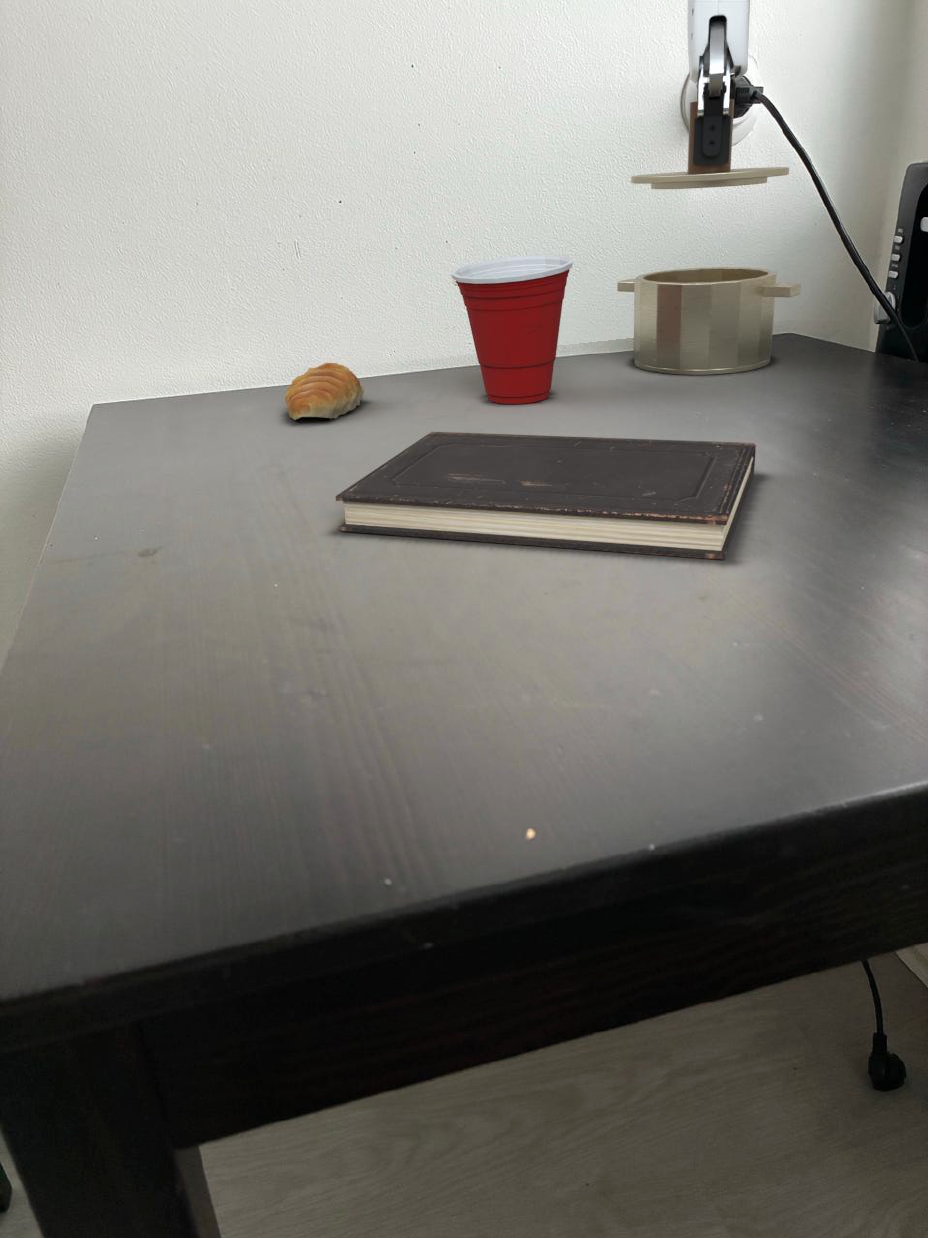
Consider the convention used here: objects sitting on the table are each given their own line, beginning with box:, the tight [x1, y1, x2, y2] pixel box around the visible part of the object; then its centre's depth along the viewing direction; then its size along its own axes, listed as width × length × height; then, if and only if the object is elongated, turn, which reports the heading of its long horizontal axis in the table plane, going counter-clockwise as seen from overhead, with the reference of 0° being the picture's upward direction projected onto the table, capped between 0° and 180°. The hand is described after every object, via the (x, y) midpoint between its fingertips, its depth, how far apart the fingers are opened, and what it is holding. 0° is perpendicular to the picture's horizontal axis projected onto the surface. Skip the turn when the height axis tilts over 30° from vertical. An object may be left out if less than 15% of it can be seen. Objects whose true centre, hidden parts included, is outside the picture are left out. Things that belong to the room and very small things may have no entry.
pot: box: [616, 266, 802, 376], centre depth 101 cm, size 14×19×8 cm
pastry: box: [284, 362, 365, 421], centre depth 90 cm, size 9×7×4 cm
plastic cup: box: [450, 254, 574, 405], centre depth 90 cm, size 11×11×12 cm
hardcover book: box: [335, 431, 757, 561], centre depth 63 cm, size 16×23×2 cm
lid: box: [630, 98, 790, 190], centre depth 94 cm, size 15×15×7 cm
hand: (709, 162), depth 94 cm, fingers closed on lid, 4 cm apart
